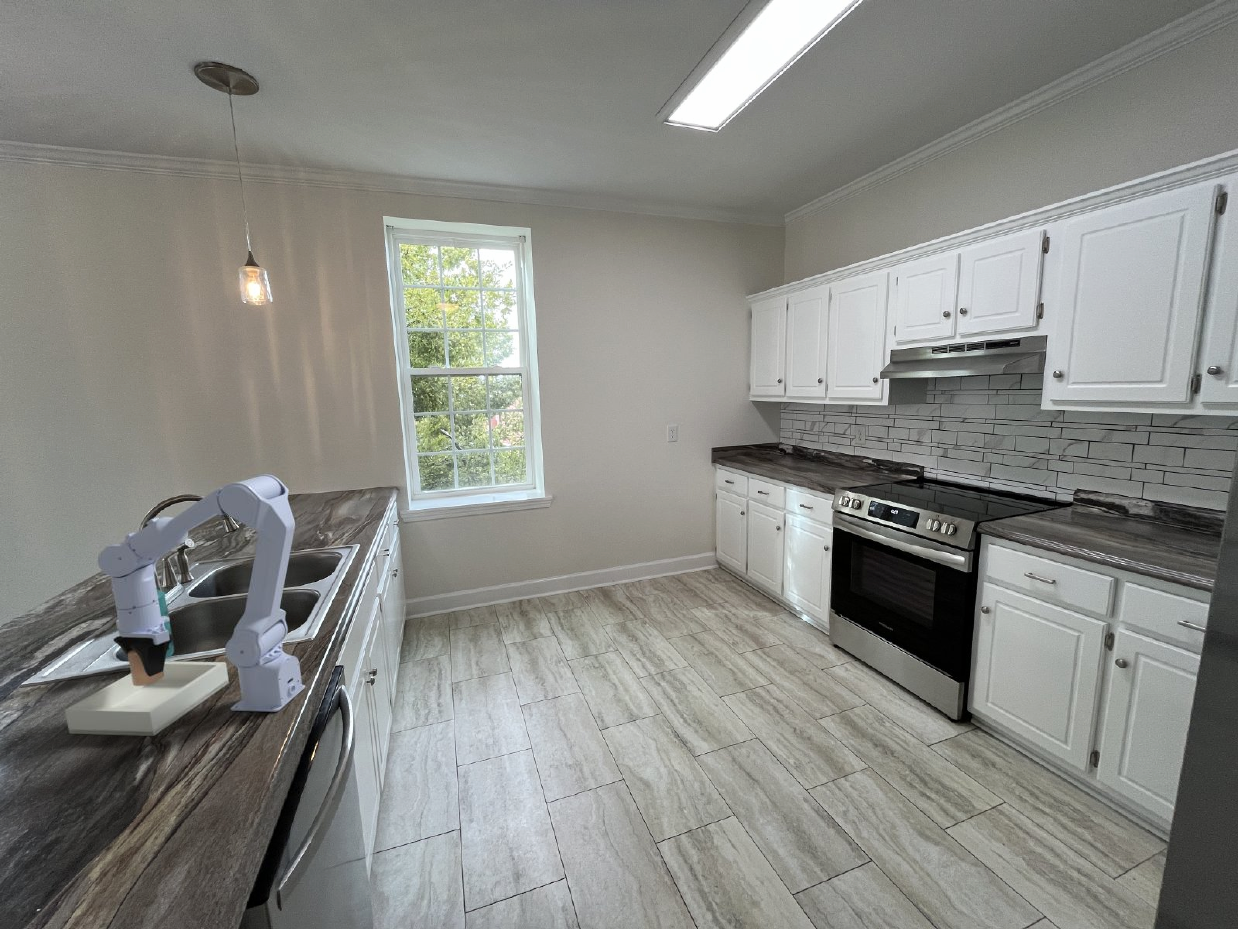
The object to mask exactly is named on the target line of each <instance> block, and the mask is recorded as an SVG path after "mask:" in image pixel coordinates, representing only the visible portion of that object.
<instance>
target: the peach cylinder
mask: <svg viewBox="0 0 1238 929" xmlns="http://www.w3.org/2000/svg"><path fill="white" fill-rule="evenodd" d="M127 659H128V663H129V668H130V674H131V676H132V682H133V685H134V686H143V685H147V684H151V683H153V682H156V681H158V680H160V679H161V678H162V677H163V676H164V670H163V672H160V673H158V674H156V675H153V676H151V677H150V676H148V675H147V673H146V672H145V669H144V666H143V663H142V661H141V659H140V657H139V656H138V654H137V653H136V652H135V651H134V650H132V651H130V652H129V653H128V657H127Z"/></svg>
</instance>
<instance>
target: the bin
mask: <svg viewBox="0 0 1238 929" xmlns="http://www.w3.org/2000/svg"><path fill="white" fill-rule="evenodd" d="M228 673H229V672H228V668H227V663H226V662H223V661H221V662H220V661H218V662H217V661H215V662H214V661H166V660H165V664H164V676H163V677H162V678H161V679H160V680H158V681H156V682H153V683H151V684H147V685H143V686H134V685H133V682H132V676H131V673H129V674H128V675H125V676H124V677H122V678H120V679H118V680H117V681H115V682H113V683H111V684H109V685H107V686H106V687H104V688H102V689H100V690H98V691H96V692H95V693H92V694H91V695H88V697H86V698H84V699H82V700H80V701H79V702H77V703H75V704H73V705H71V706H69V707H67V708H65V709H64V713H65V718H66V722H67V728H68V733H69V734H72V735H73V734H77V735H107V736H108V735H109V736H111V735H112V736H115V735H116V736H142V737H143V736H144V737H145V736H147V737H154V736H156V735H157V734H159V733H160V732H161V731H164V729H166V728H167V727H169V726H170V725H172V724H173V723H174V722H176V721H177V720H179V719H181V717H183V716H184V715H186V714H187V713H188V712H190V711H192V710H193V709H194V708H195V707H197V706H199V705H200V704H201V703H202V702H205V700H208V699H209V698H210V697H212V696H213V695H214V694H215V693H217V692H219V690H221V689H223V688H224V687H225V686H227V685H228V684H230V682H229V675H228Z"/></svg>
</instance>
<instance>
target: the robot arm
mask: <svg viewBox="0 0 1238 929" xmlns="http://www.w3.org/2000/svg"><path fill="white" fill-rule="evenodd" d="M289 491H290V490H289V488H287V486H286V485H285V484H284V483H283V482H282V481H281V480H280V479H279V478H277V477H276V476H275V475H272V474H266V473H264V474H260V475H257V476H255V477H251V478H249V479H245V480H242V481H235V482H230V483H227V484H226V485H224V486H223V487H222V488H218V489H216V490H213V491H211V492H210V493H209V494H208V495H206V496H204V497H203V498H202V499H200V500H198V501H197V502H196V503H194V504H193V505H191V506H190V507H188V508H187V509H185V510H184V511H182V512H181V513H180V514H178V515H176V516H175V517H170V516H162V517H160V518H159V517H154V518H151V519H150V520H148V521H146V523H145V524H146V525H147V526H145V527H144V528H142V529H141V530H139V531H137V532H130V533H129V534H126V536H125V537H124V539H125V540H124V541H123V542H119V543H116V544H112V545H111V544H110V545H107V546H105V547H104V549H103V550H102V551H100V553H99V555H98V557H97V564H98V567H99V569H100V570H101V571H102V572H103V573H104V574H106V575H107V576H109V577H110V580H111V587H112V593H113V597H114V604H115V609H116V615H117V620H115V624H116V630H117V631H118V635H119V636H116V637H114V638H113V642H114V643H115V644H116V645H118V647H120V648H121V649H122V651H123V652H124V653H125V655H126V657H127V658H128V653H129V652H130V651H132V650H134V651H135V652H136V653H137V654H138V656H139V657H140V659H141V661H142V663H143V666H144V669H145V672H146V673H147V675H148V676H150V677H151V676H153V675H156V674H158V673H160V672H163V670H164V664H165V661H166V659H167V658H166V653H167V650H168V647H169V645H170V643H171V641H173V640H174V635H173V633H172V634H169V633H168V630H166V629H165V626H164V623H165V622H168V621H169V622H171V620H170V616H169V617H167V616H162V617H161V613H160V607H159V601H158V595H157V585H156V583H155V579H156V576H155V572H156V571H157V568H156V567H157V566H156V564H157V562H158V560H159V559H160V557H163V556H164V555H165V554H168V553H169V552H171V551H173V549H175V548H177V547H179V546H180V545H182V544H183V543H185V542H186V541H187V540H188V538H189V531H191V530H193V529H194V528H196V527H198V526H199V525H202V524H203V523H205V522H207V521H209V520H210V519H212V518H214V517H215V516H216V517H217V515H219V516H224V515H228V516H229V517H231V518H233V519H235V520H236V521H238V522H239V523H241V524H243V525H244V526H247V527H248V528H250V529H252V530H254V531H255V532H256V533H257V534H258V537H257V543H256V547H255V555H254V559H253V565H252V571H251V574H250V575H251V576H250V582H249V586H248V593H247V598H246V603H245V609H244V612H243V615H242V616H241V618H240V619H239V620H238V623H237V624H236V626H235V627H234V630H233V634H232V636H231V638H230V639H229V640H228V641H227V643H226V645H225V648H224V654H225V657H226V658H227V660H228V662H230V663H231V664H233V665H234V666H235V668H237V672H238V679H239V686H240V688H239V689H240V692H241V693H240V694H241V700H239V701H238V702H236V703H235V704H234V705H233V706H231V707H230V710H231V711H234V712H235V711H236V712H238V711H240V712H241V711H242V712H279V711H280V710H281V709H282V708H284V707H285V706H286V705H287V704H288V703H289V702H290V701H291V700H293V699H294V698H295V697H296V696H298V694H300V693H301V692H302V691H303V690H304V689H305V688H306V685H305V684H303V683H302V682H303V681H302V674H301V664H300V661H299V659H298V657H297V656H295V655H290V654H288V653H285V652H284V651H283V646H284V645H283V640H284V639H285V638H286V637H287V635H288V629H289V628H288V624H287V622H286V615H287V612H286V611H285V610H284V609H282V608H280V607H281V603H282V602H281V601H282V597H283V591H284V586H285V581H286V575H287V571H288V565H289V562H290V561H289V560H290V554H291V550H292V545H293V539H294V534H295V530H296V522H295V519H294V514H293V513H292V512H293V511H292V508H291V506H290V503H289V499H288V498H289ZM154 576H155V577H154ZM172 639H173V640H172ZM165 658H166V659H165Z"/></svg>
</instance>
